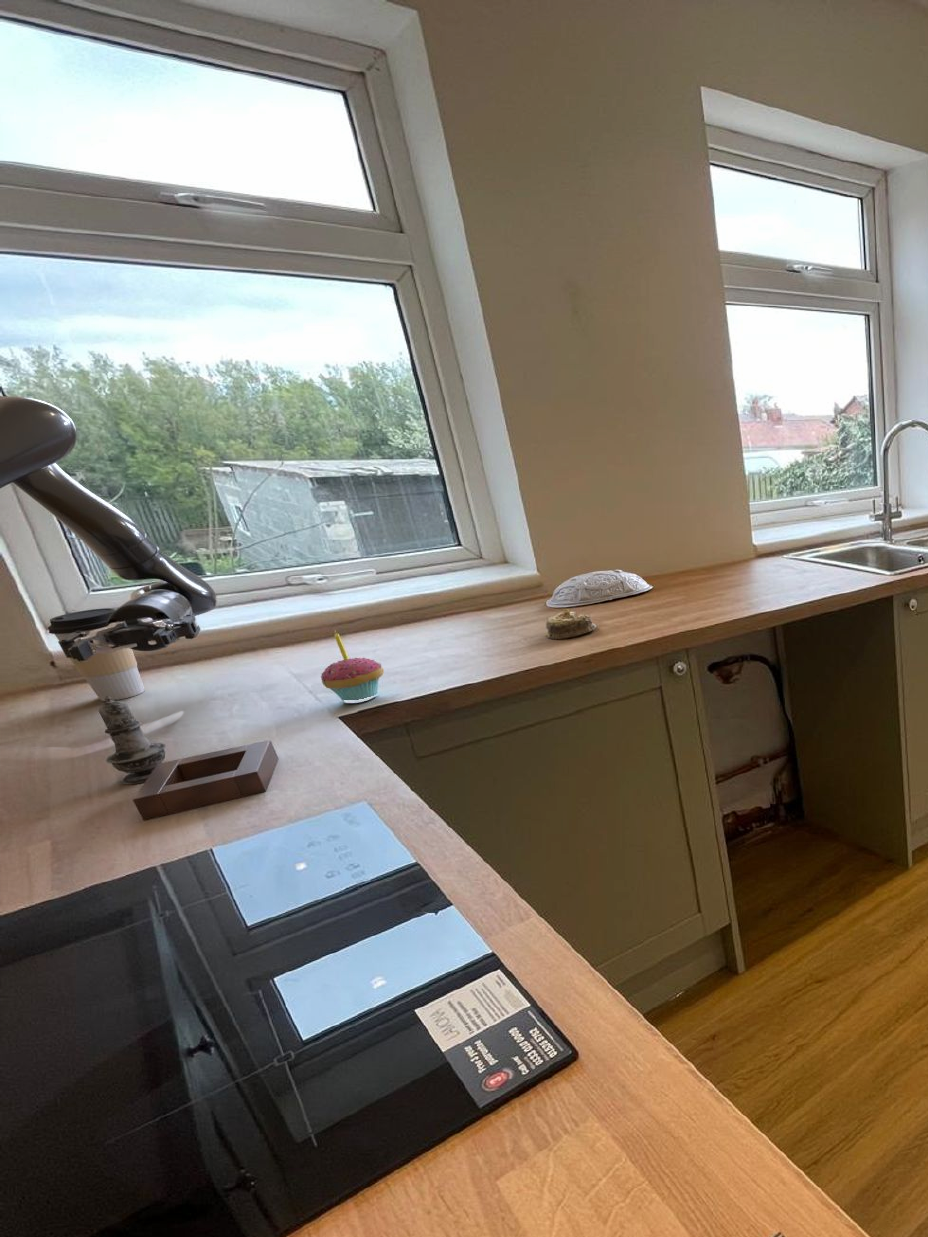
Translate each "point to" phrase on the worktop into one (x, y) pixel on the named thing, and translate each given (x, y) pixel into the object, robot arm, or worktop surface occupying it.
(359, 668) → the cupcake
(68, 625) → the coffee cup
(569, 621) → the cake
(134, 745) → the grey stone finial
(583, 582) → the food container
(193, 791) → the brown rectangular frame
